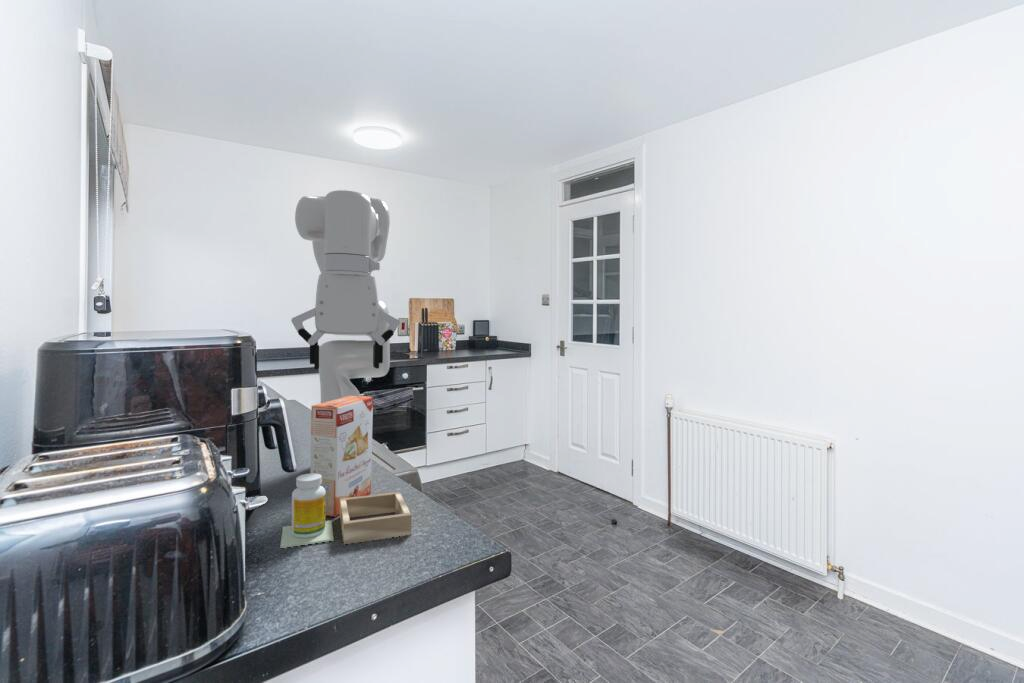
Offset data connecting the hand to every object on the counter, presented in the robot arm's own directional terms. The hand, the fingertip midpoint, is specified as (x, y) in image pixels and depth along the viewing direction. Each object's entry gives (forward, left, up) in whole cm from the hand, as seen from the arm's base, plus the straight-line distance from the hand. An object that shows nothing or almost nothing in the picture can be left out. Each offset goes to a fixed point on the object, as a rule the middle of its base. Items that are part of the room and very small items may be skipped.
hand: (346, 368), depth 82 cm
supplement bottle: (-1, -6, -28) cm, 29 cm away
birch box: (-1, +5, -29) cm, 29 cm away
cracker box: (-14, 0, -29) cm, 32 cm away
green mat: (-1, -6, -29) cm, 29 cm away
